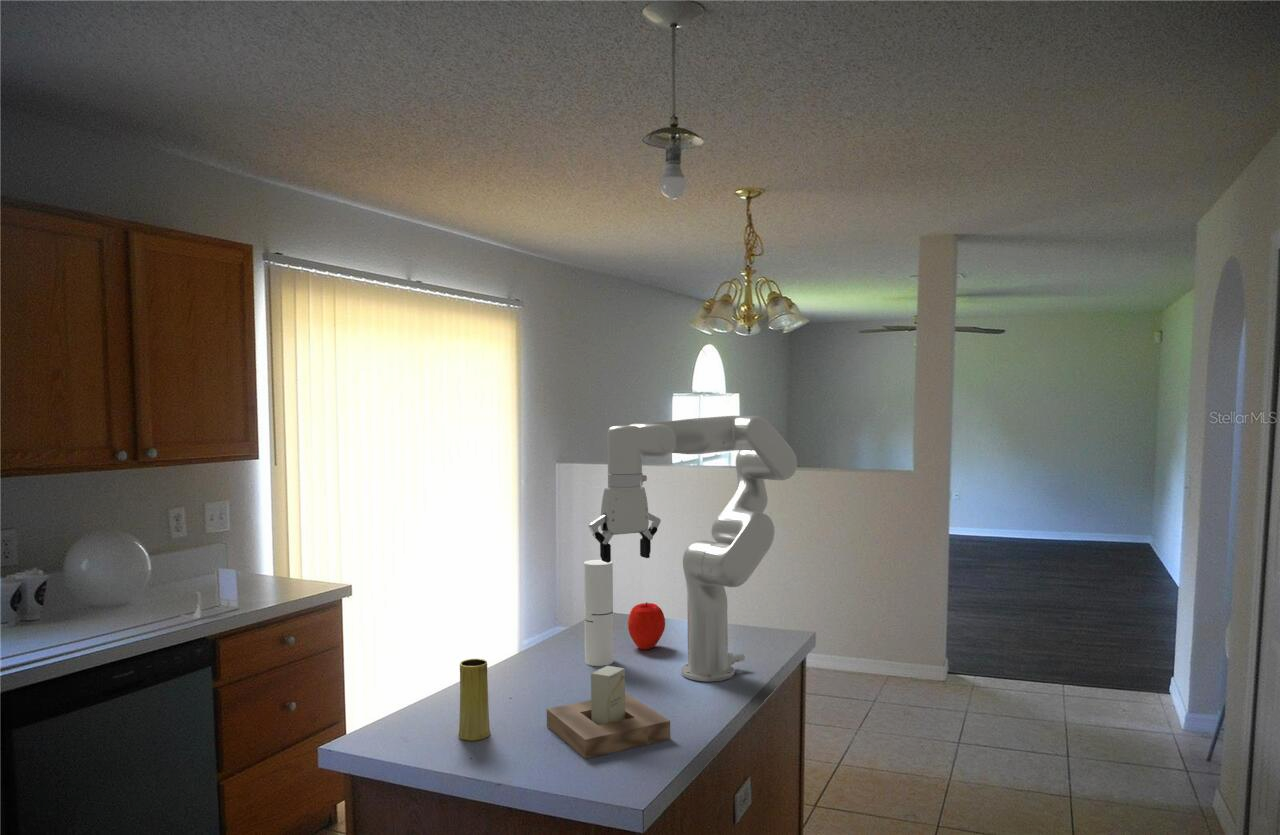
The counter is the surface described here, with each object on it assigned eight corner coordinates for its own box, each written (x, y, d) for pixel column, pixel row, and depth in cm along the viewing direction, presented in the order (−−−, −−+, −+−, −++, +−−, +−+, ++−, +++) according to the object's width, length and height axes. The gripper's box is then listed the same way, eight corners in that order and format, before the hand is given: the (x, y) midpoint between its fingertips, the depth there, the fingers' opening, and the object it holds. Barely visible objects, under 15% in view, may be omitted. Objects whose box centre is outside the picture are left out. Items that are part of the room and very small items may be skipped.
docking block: (626, 709, 177) (625, 693, 177) (670, 738, 162) (670, 720, 161) (546, 726, 168) (546, 708, 168) (585, 758, 153) (585, 739, 153)
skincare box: (609, 739, 161) (609, 676, 161) (590, 735, 164) (589, 673, 163) (626, 728, 167) (626, 667, 167) (607, 724, 169) (607, 664, 169)
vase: (460, 729, 167) (459, 658, 167) (491, 728, 168) (490, 657, 167) (456, 742, 161) (455, 667, 161) (488, 740, 162) (487, 666, 161)
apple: (665, 653, 217) (665, 606, 217) (627, 653, 217) (627, 606, 217) (665, 642, 227) (664, 597, 227) (628, 643, 227) (628, 598, 227)
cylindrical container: (609, 666, 207) (608, 565, 206) (581, 665, 208) (580, 564, 208) (616, 658, 214) (615, 560, 213) (589, 656, 215) (588, 559, 215)
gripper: (650, 478, 192) (651, 553, 192) (582, 482, 184) (582, 560, 184) (667, 480, 186) (668, 558, 186) (597, 485, 177) (598, 566, 177)
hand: (625, 559), depth 185 cm, fingers open, 9 cm apart
